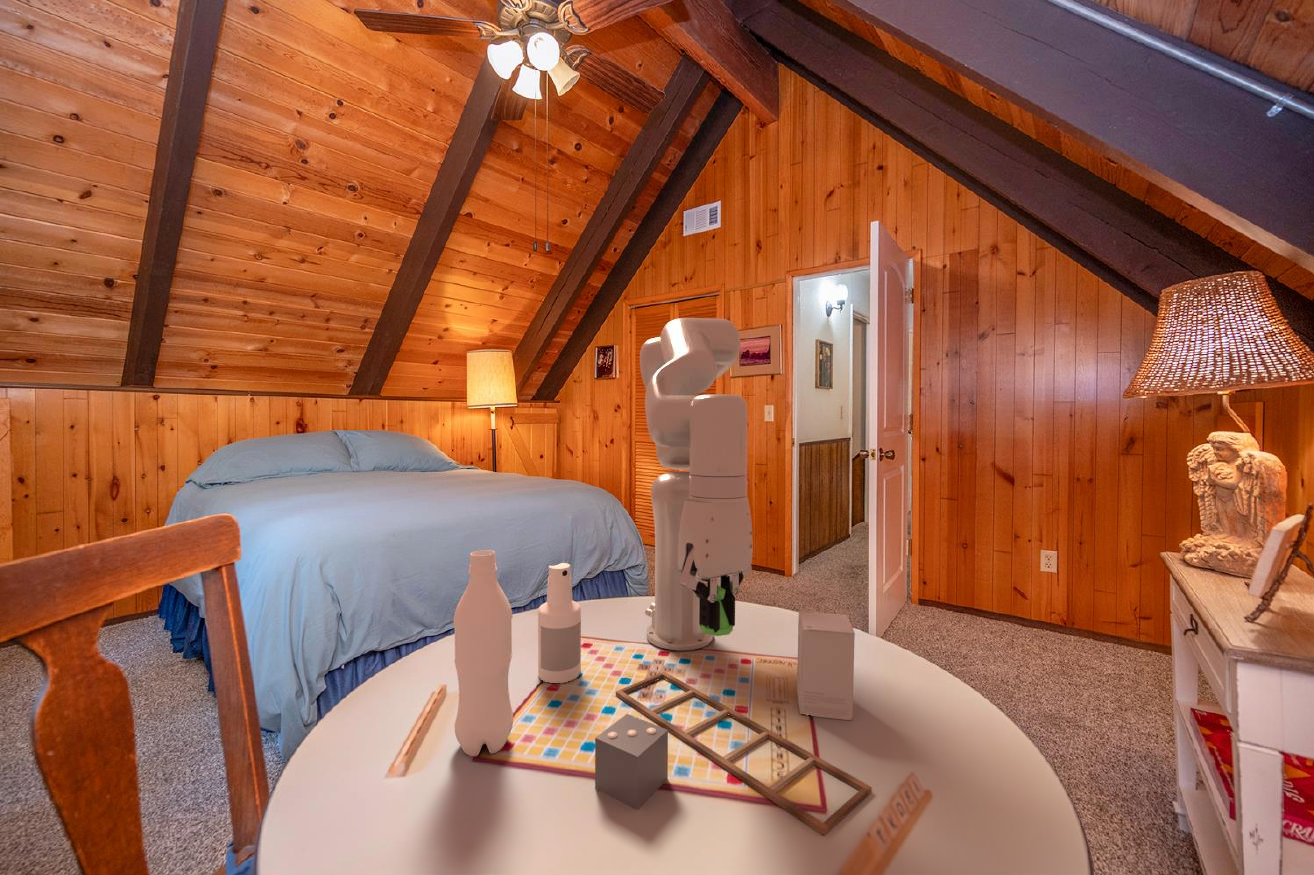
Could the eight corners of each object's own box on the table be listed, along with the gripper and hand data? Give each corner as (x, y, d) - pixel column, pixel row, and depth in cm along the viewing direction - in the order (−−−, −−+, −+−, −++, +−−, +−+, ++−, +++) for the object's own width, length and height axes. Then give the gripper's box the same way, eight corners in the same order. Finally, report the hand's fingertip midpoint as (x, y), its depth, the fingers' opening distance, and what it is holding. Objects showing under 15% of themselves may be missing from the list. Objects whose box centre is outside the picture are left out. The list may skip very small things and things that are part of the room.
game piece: (699, 623, 74) (700, 579, 74) (731, 624, 74) (731, 580, 74) (700, 635, 70) (700, 589, 70) (733, 636, 70) (734, 590, 70)
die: (595, 788, 62) (595, 736, 62) (626, 760, 67) (627, 712, 67) (637, 810, 59) (637, 755, 58) (667, 779, 64) (668, 728, 63)
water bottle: (524, 734, 72) (523, 548, 71) (490, 767, 65) (489, 563, 64) (479, 723, 75) (477, 543, 73) (442, 754, 68) (439, 557, 67)
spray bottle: (551, 689, 84) (551, 574, 83) (530, 673, 89) (530, 564, 88) (588, 675, 88) (589, 566, 87) (566, 660, 93) (566, 557, 93)
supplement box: (853, 722, 76) (856, 633, 75) (798, 715, 77) (800, 628, 77) (846, 694, 83) (848, 613, 82) (796, 689, 84) (797, 609, 84)
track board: (615, 695, 82) (615, 691, 82) (664, 675, 89) (664, 671, 89) (823, 835, 55) (823, 830, 55) (871, 792, 62) (871, 786, 62)
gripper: (737, 481, 80) (736, 606, 80) (653, 490, 69) (652, 632, 70) (779, 486, 74) (777, 620, 74) (693, 496, 64) (692, 651, 64)
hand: (717, 625), depth 72 cm, fingers closed on game piece, 2 cm apart
